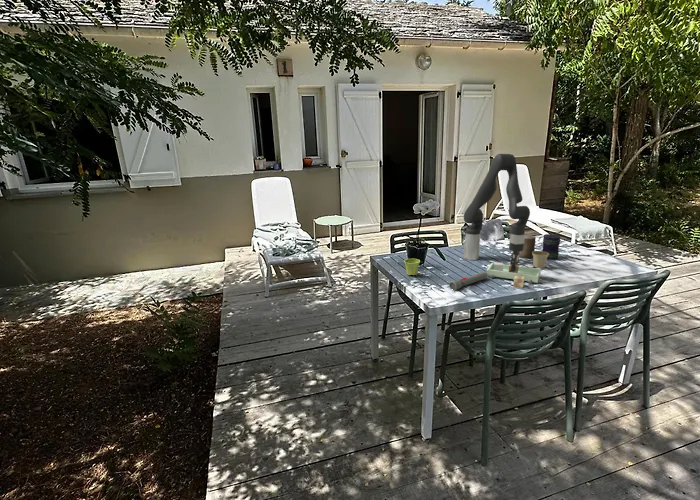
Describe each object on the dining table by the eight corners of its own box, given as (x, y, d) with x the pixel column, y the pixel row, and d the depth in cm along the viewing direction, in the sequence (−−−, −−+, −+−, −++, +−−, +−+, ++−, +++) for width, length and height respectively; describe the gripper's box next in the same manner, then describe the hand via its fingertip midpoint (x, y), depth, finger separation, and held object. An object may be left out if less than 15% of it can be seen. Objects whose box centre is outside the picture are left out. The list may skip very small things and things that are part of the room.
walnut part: (508, 274, 220) (509, 266, 218) (509, 272, 223) (510, 263, 222) (516, 275, 217) (517, 267, 216) (518, 273, 221) (518, 264, 220)
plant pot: (410, 278, 223) (410, 264, 221) (400, 273, 232) (400, 260, 229) (423, 275, 228) (423, 261, 225) (413, 271, 236) (413, 257, 233)
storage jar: (544, 254, 259) (546, 233, 255) (560, 257, 253) (562, 235, 249) (538, 258, 253) (541, 236, 249) (554, 261, 246) (557, 238, 242)
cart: (485, 277, 221) (485, 270, 220) (491, 269, 234) (492, 262, 233) (537, 285, 207) (537, 277, 206) (540, 275, 221) (541, 268, 220)
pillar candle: (536, 258, 252) (538, 236, 249) (521, 258, 253) (523, 236, 249) (530, 254, 262) (532, 233, 258) (515, 254, 262) (517, 233, 258)
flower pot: (549, 269, 231) (551, 255, 229) (532, 268, 233) (534, 255, 231) (545, 264, 240) (546, 251, 238) (529, 264, 242) (530, 250, 240)
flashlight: (489, 280, 218) (489, 271, 216) (455, 291, 203) (456, 282, 201) (481, 277, 222) (482, 269, 220) (448, 289, 207) (448, 280, 205)
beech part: (513, 287, 206) (514, 278, 205) (514, 284, 210) (515, 275, 209) (522, 288, 204) (523, 279, 203) (523, 285, 208) (524, 276, 206)
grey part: (494, 272, 223) (494, 264, 222) (494, 270, 227) (495, 262, 226) (502, 273, 222) (503, 265, 220) (502, 270, 226) (503, 262, 224)
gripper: (511, 238, 222) (509, 264, 226) (507, 244, 210) (505, 272, 215) (525, 239, 218) (523, 266, 223) (522, 245, 206) (519, 274, 211)
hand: (514, 269), depth 219 cm, fingers open, 8 cm apart
